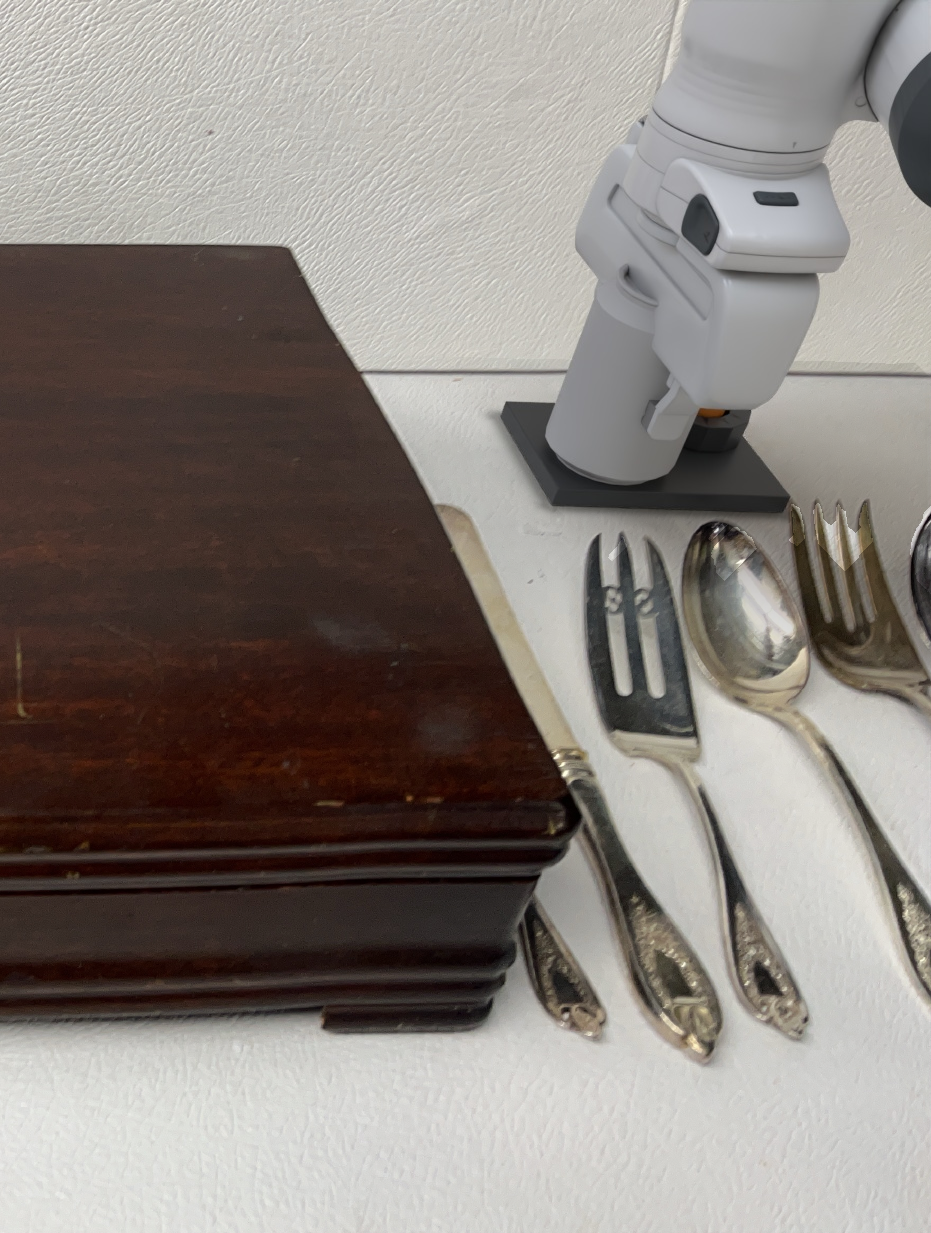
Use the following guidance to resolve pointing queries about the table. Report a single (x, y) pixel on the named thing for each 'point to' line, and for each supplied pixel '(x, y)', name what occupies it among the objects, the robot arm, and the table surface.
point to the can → (614, 392)
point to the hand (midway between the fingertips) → (629, 393)
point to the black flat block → (700, 480)
